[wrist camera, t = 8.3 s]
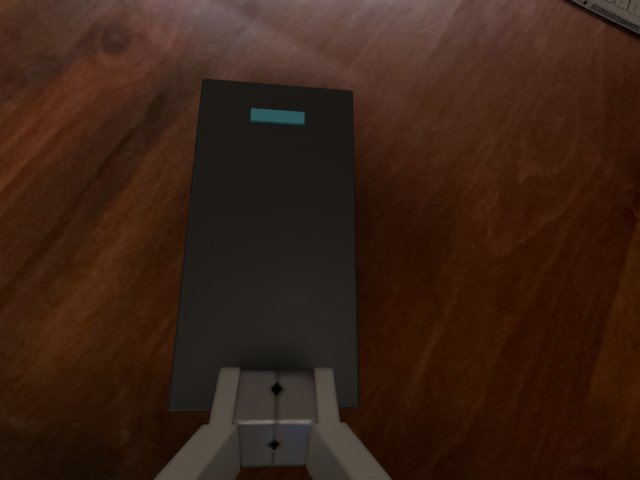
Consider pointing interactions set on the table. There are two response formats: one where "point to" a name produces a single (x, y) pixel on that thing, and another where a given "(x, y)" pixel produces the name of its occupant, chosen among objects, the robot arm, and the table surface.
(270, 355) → the black power bank
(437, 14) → the table surface
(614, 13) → the laptop
